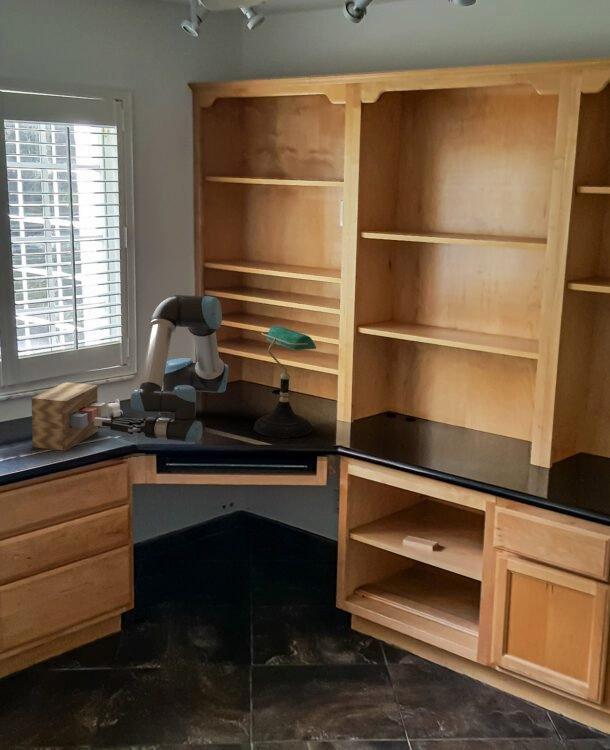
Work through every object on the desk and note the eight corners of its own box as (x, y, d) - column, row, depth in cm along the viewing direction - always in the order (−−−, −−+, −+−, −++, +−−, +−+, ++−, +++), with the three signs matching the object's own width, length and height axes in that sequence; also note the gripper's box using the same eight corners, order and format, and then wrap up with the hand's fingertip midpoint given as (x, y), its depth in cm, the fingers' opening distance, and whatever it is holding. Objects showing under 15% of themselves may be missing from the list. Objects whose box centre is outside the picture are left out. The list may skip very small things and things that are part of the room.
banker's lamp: (325, 435, 342) (330, 334, 333) (273, 442, 330) (277, 337, 321) (291, 418, 364) (295, 323, 355) (241, 424, 352) (244, 326, 343)
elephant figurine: (112, 421, 348) (112, 404, 346) (96, 417, 353) (96, 399, 352) (127, 418, 354) (127, 400, 352) (111, 413, 359) (111, 396, 358)
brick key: (97, 419, 321) (97, 408, 320) (91, 422, 317) (91, 411, 316) (66, 416, 323) (66, 405, 322) (61, 419, 319) (60, 408, 318)
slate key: (87, 425, 313) (87, 413, 313) (82, 428, 309) (82, 416, 308) (56, 422, 316) (56, 410, 315) (50, 425, 311) (50, 413, 310)
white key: (106, 414, 329) (105, 402, 328) (101, 417, 325) (101, 405, 324) (76, 411, 331) (76, 400, 330) (70, 414, 327) (70, 402, 326)
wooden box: (97, 431, 334) (97, 385, 330) (66, 450, 309) (65, 401, 305) (65, 427, 336) (65, 382, 332) (32, 447, 311) (31, 397, 308)
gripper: (150, 443, 300) (87, 436, 305) (164, 433, 313) (103, 426, 317) (151, 422, 299) (86, 415, 303) (164, 413, 311) (102, 406, 316)
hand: (95, 421), depth 310 cm, fingers closed
